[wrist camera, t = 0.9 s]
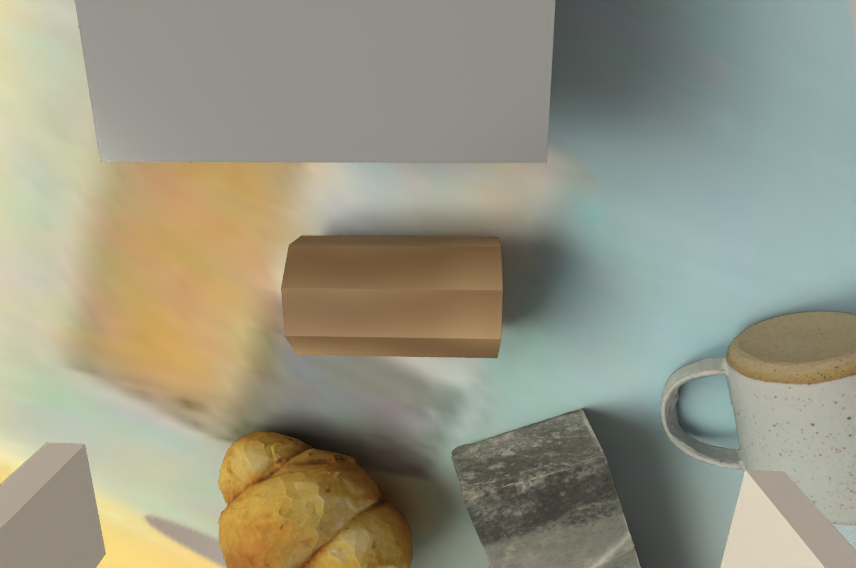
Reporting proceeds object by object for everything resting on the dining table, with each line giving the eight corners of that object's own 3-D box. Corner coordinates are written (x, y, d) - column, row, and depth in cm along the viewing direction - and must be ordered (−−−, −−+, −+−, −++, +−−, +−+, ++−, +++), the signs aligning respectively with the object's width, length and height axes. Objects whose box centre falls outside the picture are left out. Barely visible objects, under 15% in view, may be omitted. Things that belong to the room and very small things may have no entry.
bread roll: (201, 445, 35) (128, 538, 27) (335, 378, 33) (299, 456, 25) (311, 599, 37) (275, 722, 30) (441, 543, 36) (437, 659, 28)
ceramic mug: (833, 288, 30) (953, 342, 23) (860, 418, 32) (977, 508, 25) (636, 349, 32) (687, 418, 24) (672, 469, 34) (730, 567, 26)
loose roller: (492, 329, 32) (499, 372, 26) (315, 327, 32) (287, 368, 27) (495, 231, 30) (504, 254, 25) (309, 229, 31) (278, 252, 25)
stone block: (510, 627, 38) (518, 705, 33) (438, 445, 34) (435, 500, 29) (644, 596, 36) (674, 672, 31) (584, 403, 33) (606, 454, 28)
